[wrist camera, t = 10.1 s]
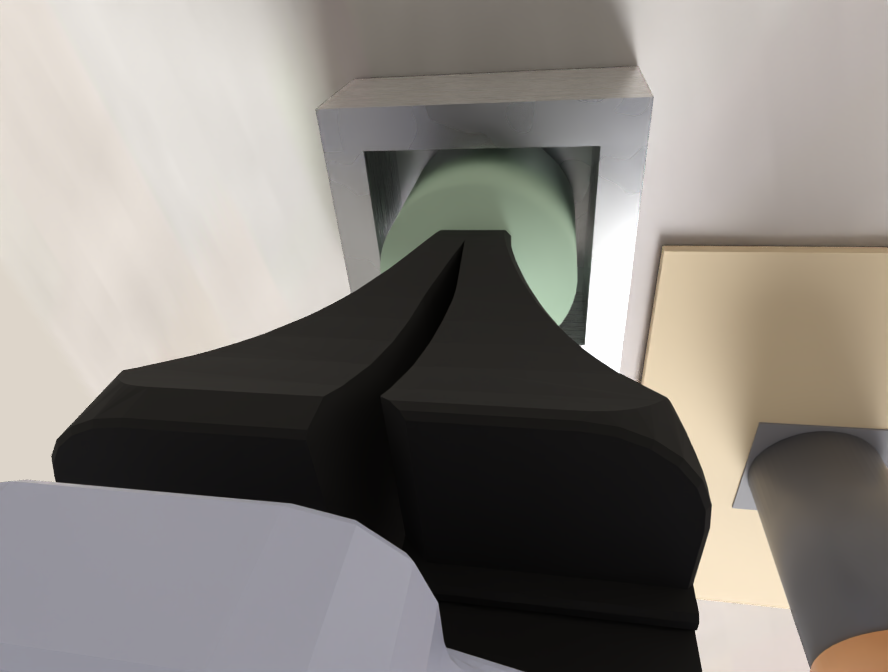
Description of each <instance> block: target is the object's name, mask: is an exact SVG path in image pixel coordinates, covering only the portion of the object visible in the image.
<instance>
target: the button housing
mask: <svg viewBox="0 0 888 672" xmlns="http://www.w3.org/2000/svg"><path fill="white" fill-rule="evenodd" d="M653 98H654V97H653V95H652V93H651V91H650V89H649V87H648V84H647V82H646V80H645V78H644V76H643V74H642V72H641V70H640V68H639V66H628V67H606V68H584V69H562V70H540V71H518V72H496V73H474V74H452V75H430V76H408V77H386V78H364V79H353V80H352V81H351V82H350V83H348V84H347V85H346V86H344V87H343V88H342V89H341V90H339V91H338V92H337V93H336V94H334V95H333V96H332V97H330V98H329V99H328V100H327V101H325V102H324V103H323V104H321V105H320V106H319V107H318V108H316V114H317V120H318V125H319V130H320V135H321V140H322V145H323V151H324V156H325V161H326V166H327V171H328V176H329V182H330V187H331V192H332V197H333V202H334V207H335V213H336V218H337V223H338V228H339V233H340V239H341V244H342V249H343V254H344V259H345V264H346V270H347V275H348V280H349V285H350V290H351V293H353V292H354V291H356V290H358V289H359V288H361V287H362V286H364V285H365V284H367V283H368V282H370V281H371V280H373V279H374V278H376V277H377V276H379V275H380V274H381V272H380V261H381V253H382V248H383V244H384V241H385V239H386V236H387V234H388V232H389V230H390V228H391V226H392V225H393V223H394V221H395V219H396V217H397V216H398V214H399V212H400V210H401V208H402V207H403V205H404V203H405V201H406V199H407V197H408V196H409V194H410V192H411V190H412V188H413V187H414V185H415V183H416V181H417V179H418V178H419V176H420V174H421V172H422V170H423V169H424V167H425V166H426V165H427V163H428V162H429V161H430V159H431V158H433V157H434V156H435V155H436V154H437V153H438V152H439V151H440V150H442V149H483V148H528V147H540V148H541V149H543V150H544V151H545V152H546V153H547V154H549V155H550V156H551V157H552V158H553V159H554V160H555V161H556V163H557V164H558V165H559V166H560V168H561V169H562V171H563V172H564V174H565V175H566V177H567V179H568V181H569V184H570V186H571V190H572V193H573V197H574V203H575V224H576V250H577V288H576V294H575V297H574V300H573V304H572V306H571V308H570V310H569V312H568V314H567V316H566V317H565V319H564V320H563V322H562V323H561V324H560V325H559V327H560V328H561V329H562V330H563V331H564V332H565V333H566V334H567V335H568V336H569V337H570V338H572V339H573V340H574V341H575V342H576V343H577V344H579V345H580V346H581V347H582V348H583V349H585V350H586V351H587V352H589V353H590V354H591V355H593V356H594V357H595V358H597V359H598V360H600V361H601V362H603V363H605V364H606V365H608V366H609V367H611V368H612V369H614V370H615V371H617V372H619V369H620V361H621V353H622V345H623V337H624V329H625V321H626V313H627V305H628V297H629V289H630V281H631V273H632V265H633V257H634V250H635V242H636V234H637V226H638V218H639V210H640V202H641V194H642V186H643V178H644V170H645V162H646V154H647V146H648V138H649V130H650V122H651V114H652V106H653Z"/></svg>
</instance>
